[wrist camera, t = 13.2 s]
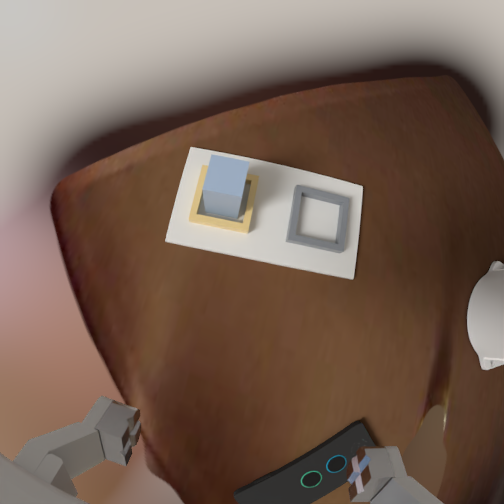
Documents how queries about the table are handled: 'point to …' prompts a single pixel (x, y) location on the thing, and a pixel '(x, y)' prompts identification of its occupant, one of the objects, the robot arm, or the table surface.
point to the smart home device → (309, 471)
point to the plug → (224, 185)
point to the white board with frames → (273, 217)
